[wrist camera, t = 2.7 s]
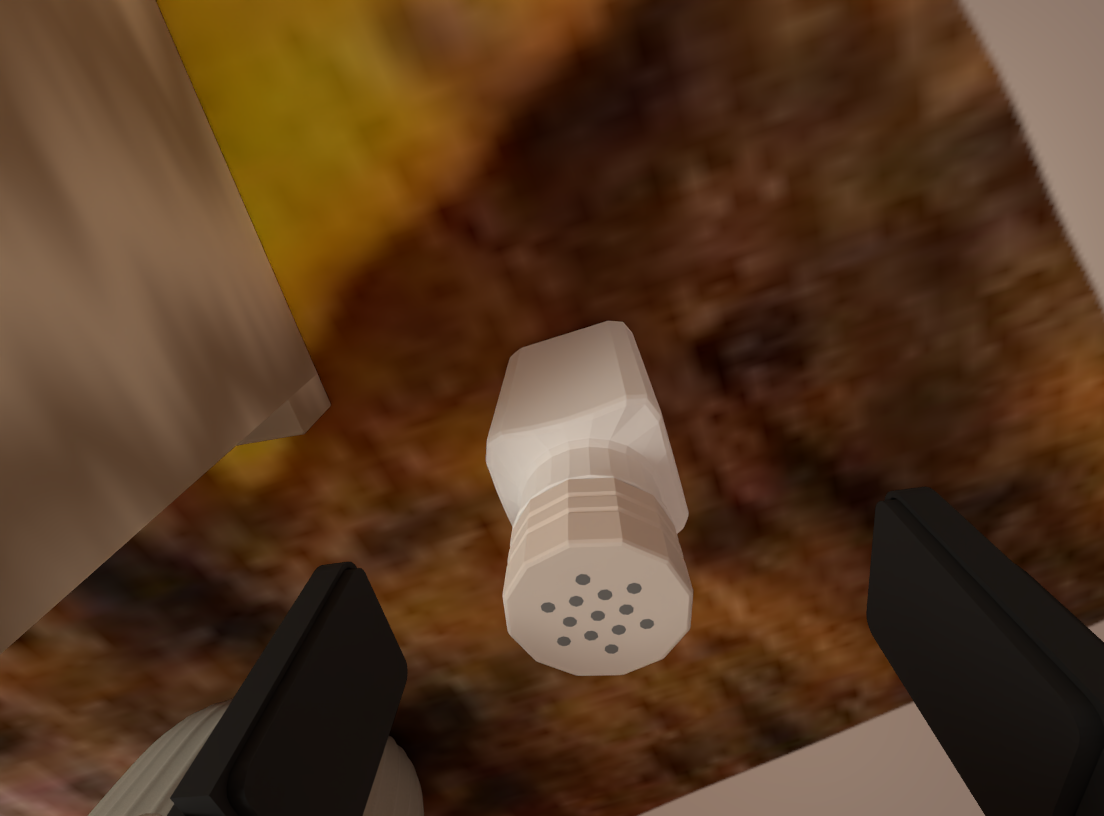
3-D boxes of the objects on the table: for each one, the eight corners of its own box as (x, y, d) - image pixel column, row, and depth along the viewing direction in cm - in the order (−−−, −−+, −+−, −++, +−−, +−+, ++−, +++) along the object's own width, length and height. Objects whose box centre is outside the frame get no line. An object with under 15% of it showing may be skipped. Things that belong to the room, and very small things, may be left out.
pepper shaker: (504, 347, 16) (438, 554, 8) (625, 309, 16) (693, 491, 7) (545, 448, 18) (525, 710, 10) (655, 418, 17) (739, 670, 9)
